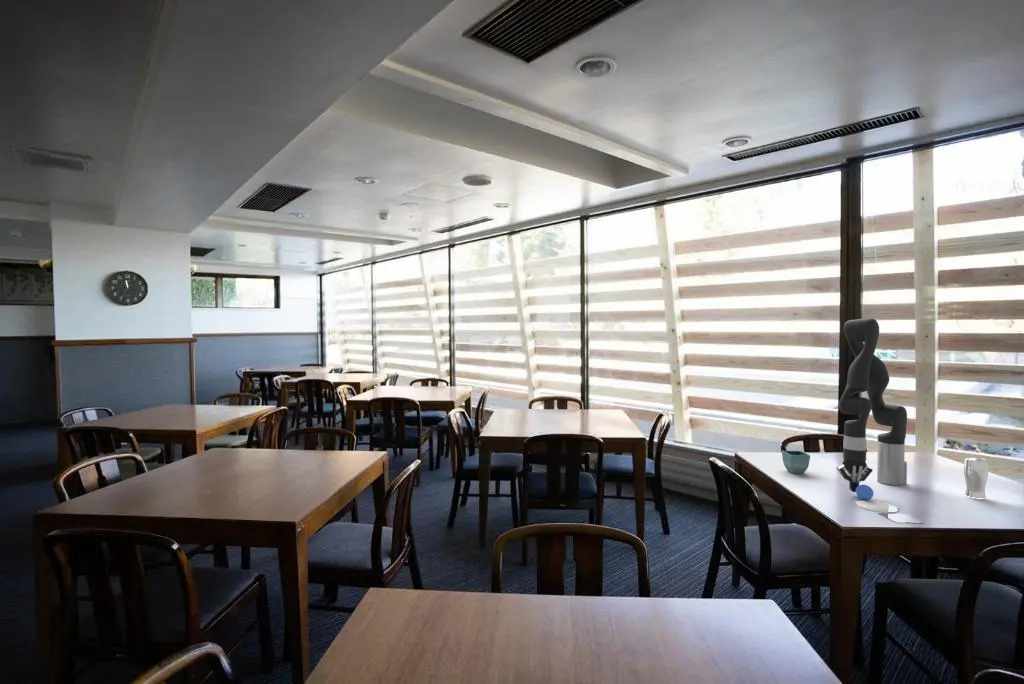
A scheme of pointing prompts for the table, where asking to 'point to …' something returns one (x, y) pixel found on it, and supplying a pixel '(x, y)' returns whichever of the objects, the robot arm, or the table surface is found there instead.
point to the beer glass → (975, 476)
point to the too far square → (884, 514)
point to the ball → (864, 492)
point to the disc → (873, 505)
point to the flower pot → (796, 461)
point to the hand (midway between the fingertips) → (854, 491)
